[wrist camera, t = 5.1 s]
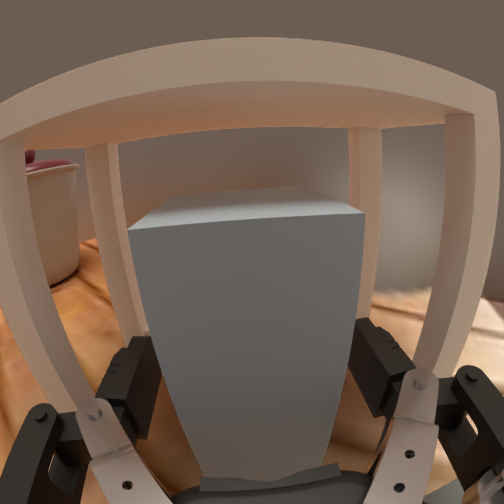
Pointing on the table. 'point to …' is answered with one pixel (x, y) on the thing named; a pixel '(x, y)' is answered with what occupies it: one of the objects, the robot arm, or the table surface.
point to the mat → (446, 494)
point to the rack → (241, 116)
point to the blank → (252, 321)
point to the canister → (54, 214)
